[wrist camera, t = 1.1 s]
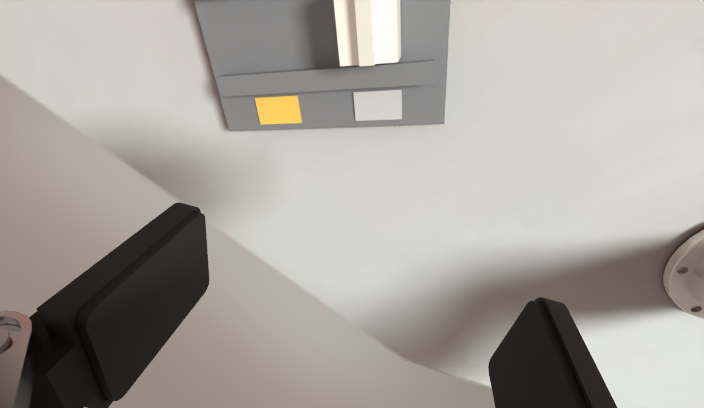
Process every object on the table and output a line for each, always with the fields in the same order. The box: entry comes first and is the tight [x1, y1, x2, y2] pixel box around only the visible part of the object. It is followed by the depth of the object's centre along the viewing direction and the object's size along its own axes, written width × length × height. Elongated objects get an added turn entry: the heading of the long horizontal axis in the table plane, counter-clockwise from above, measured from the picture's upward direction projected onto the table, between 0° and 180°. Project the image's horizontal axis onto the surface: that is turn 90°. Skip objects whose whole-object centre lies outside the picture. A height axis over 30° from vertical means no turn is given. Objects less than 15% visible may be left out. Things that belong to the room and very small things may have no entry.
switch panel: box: [194, 0, 450, 131], centre depth 26 cm, size 20×16×4 cm
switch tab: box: [334, 0, 401, 67], centre depth 23 cm, size 4×5×5 cm
